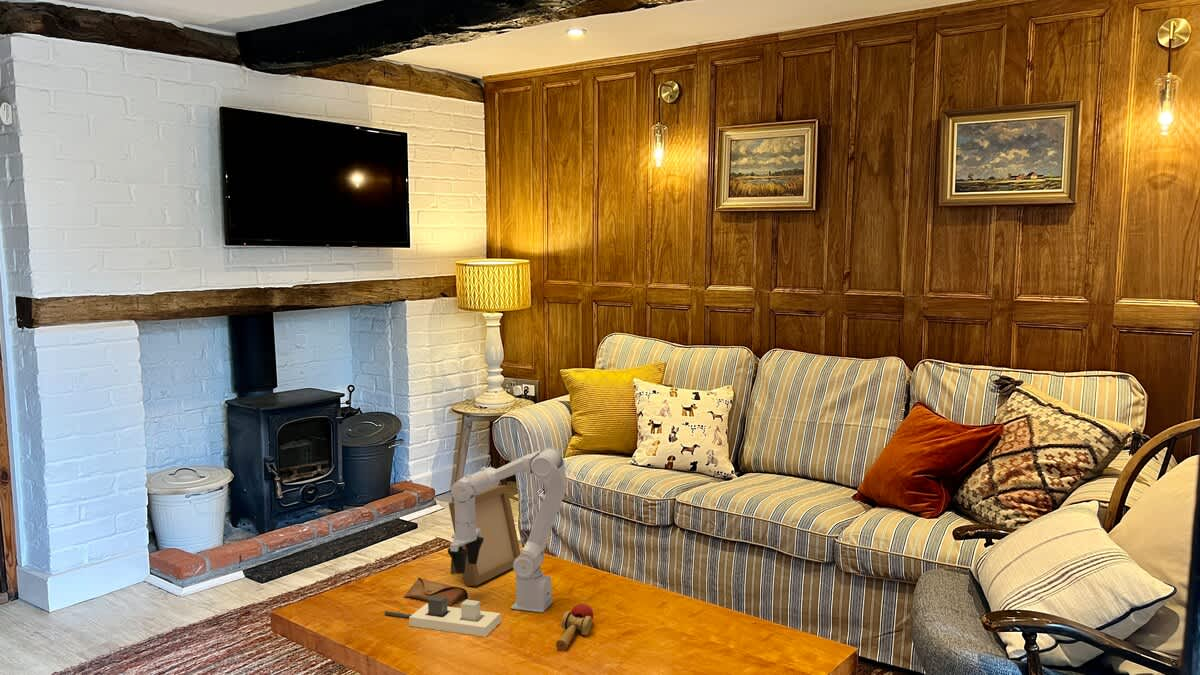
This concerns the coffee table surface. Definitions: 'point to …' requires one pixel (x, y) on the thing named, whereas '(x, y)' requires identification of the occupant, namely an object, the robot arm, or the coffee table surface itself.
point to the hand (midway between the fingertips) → (466, 568)
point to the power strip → (449, 618)
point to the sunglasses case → (436, 592)
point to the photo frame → (491, 536)
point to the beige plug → (470, 610)
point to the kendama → (575, 624)
